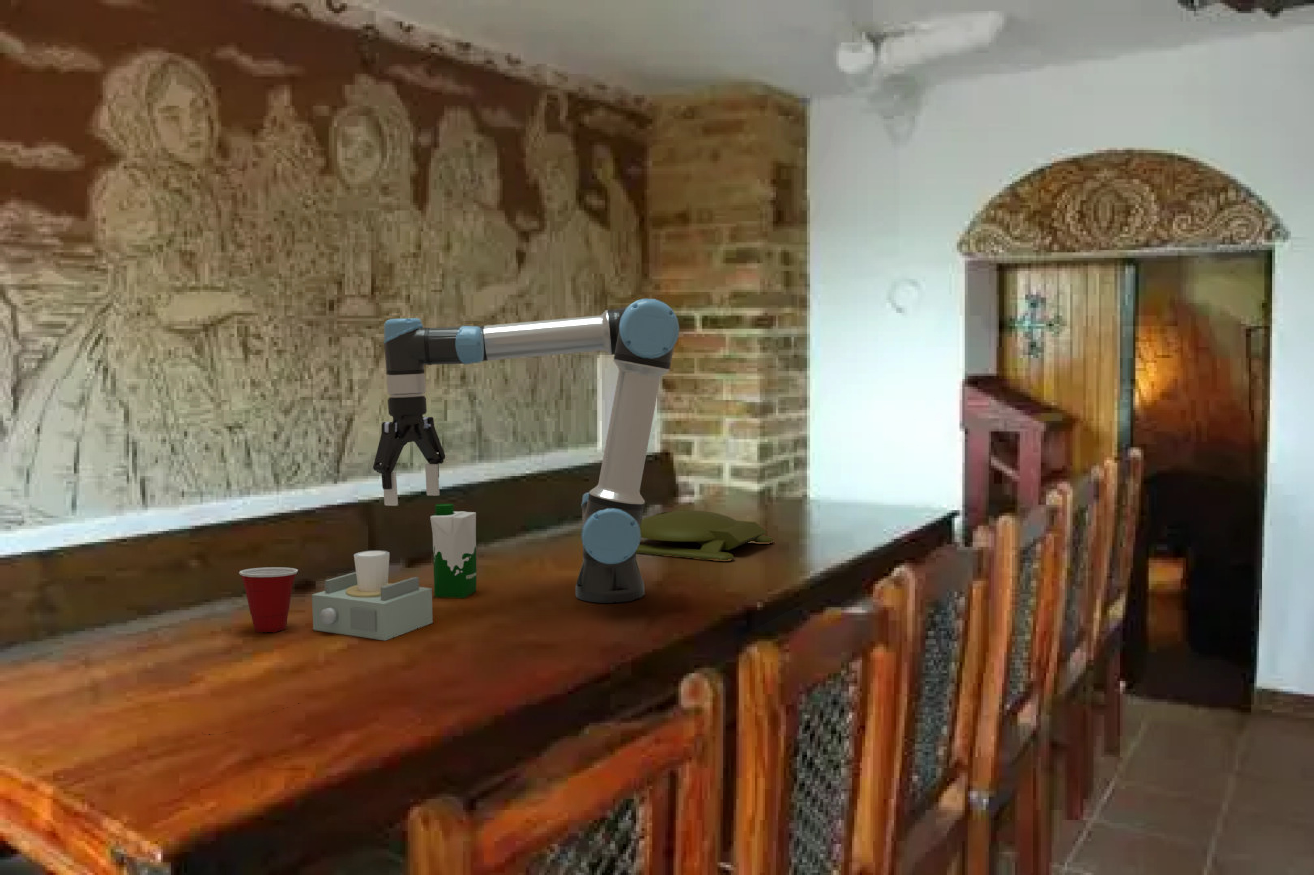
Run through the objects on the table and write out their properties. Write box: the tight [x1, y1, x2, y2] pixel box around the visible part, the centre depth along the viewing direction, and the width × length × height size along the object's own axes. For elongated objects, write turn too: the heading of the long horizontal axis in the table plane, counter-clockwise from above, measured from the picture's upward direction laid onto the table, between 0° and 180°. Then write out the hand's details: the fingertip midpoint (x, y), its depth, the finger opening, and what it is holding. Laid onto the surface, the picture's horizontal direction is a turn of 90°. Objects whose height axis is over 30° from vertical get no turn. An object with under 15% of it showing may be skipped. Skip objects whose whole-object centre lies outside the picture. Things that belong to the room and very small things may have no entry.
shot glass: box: [353, 549, 390, 592], centre depth 209 cm, size 7×7×7 cm
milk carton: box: [429, 502, 478, 599], centre depth 236 cm, size 9×9×20 cm
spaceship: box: [636, 509, 774, 560], centre depth 288 cm, size 35×31×10 cm
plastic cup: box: [238, 566, 299, 633], centre depth 208 cm, size 11×11×12 cm
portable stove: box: [311, 571, 433, 641], centre depth 209 cm, size 18×16×10 cm
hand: (412, 500), depth 216 cm, fingers open, 13 cm apart
